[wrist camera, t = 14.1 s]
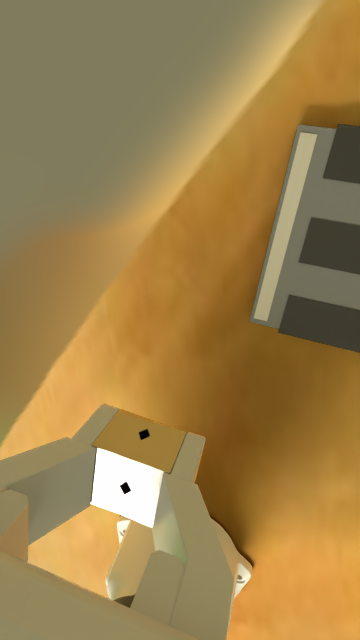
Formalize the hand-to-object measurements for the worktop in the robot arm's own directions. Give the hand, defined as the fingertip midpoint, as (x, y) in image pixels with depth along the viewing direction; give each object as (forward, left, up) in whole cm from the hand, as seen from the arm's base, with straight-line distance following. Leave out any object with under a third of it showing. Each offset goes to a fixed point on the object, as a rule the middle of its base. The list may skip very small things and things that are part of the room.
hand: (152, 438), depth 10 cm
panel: (+3, -10, -24) cm, 26 cm away
